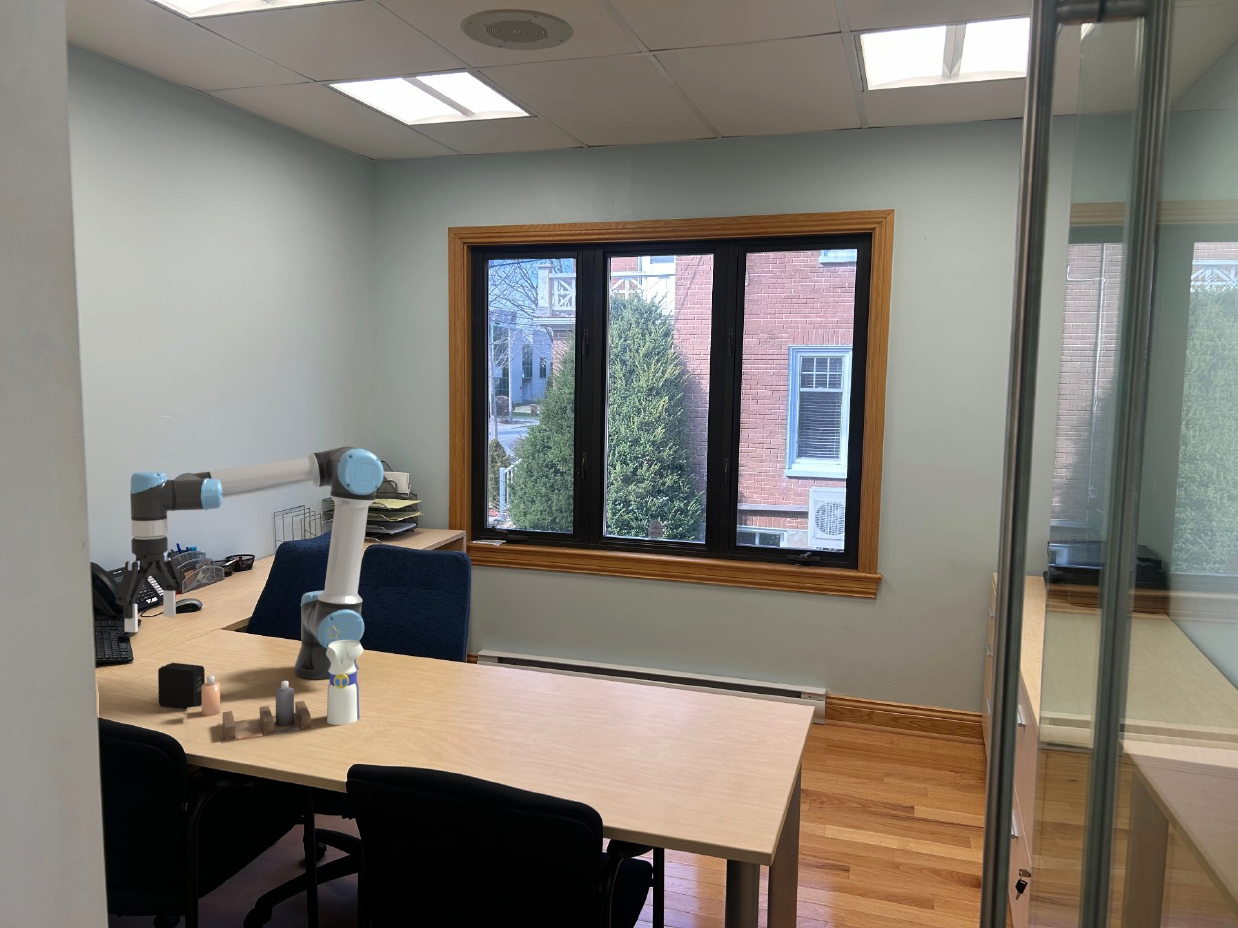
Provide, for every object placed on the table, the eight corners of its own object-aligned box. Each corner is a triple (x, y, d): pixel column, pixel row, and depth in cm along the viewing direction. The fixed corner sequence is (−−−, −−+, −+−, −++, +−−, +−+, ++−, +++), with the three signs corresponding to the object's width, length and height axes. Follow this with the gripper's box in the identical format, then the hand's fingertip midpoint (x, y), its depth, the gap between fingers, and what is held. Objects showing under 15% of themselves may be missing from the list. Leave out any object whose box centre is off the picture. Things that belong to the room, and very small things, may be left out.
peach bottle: (219, 712, 204) (219, 672, 204) (220, 718, 201) (220, 678, 200) (201, 715, 202) (201, 675, 202) (202, 720, 199) (201, 680, 198)
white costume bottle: (360, 728, 197) (360, 625, 195) (322, 730, 196) (322, 626, 194) (364, 715, 205) (365, 616, 203) (328, 716, 204) (329, 616, 202)
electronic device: (193, 710, 205) (193, 671, 204) (158, 706, 207) (157, 667, 206) (205, 704, 209) (204, 665, 209) (170, 700, 211) (170, 662, 210)
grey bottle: (292, 718, 199) (292, 678, 199) (295, 724, 196) (295, 683, 195) (274, 721, 197) (274, 680, 197) (276, 727, 194) (276, 685, 193)
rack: (307, 714, 205) (307, 698, 204) (315, 732, 194) (315, 715, 194) (217, 727, 195) (217, 711, 195) (221, 747, 185) (221, 729, 184)
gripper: (169, 527, 211) (170, 609, 213) (96, 544, 186) (98, 637, 188) (196, 529, 210) (198, 611, 212) (127, 546, 185) (128, 639, 187)
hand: (151, 623), depth 200 cm, fingers open, 13 cm apart
